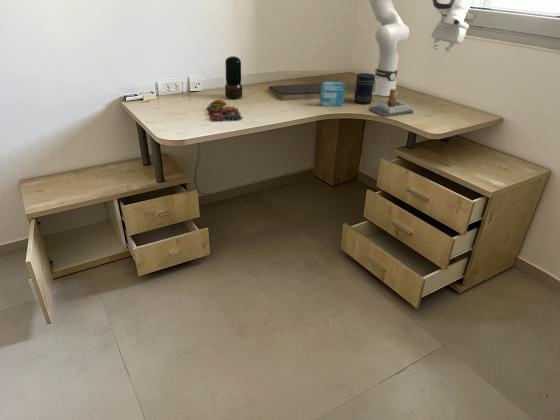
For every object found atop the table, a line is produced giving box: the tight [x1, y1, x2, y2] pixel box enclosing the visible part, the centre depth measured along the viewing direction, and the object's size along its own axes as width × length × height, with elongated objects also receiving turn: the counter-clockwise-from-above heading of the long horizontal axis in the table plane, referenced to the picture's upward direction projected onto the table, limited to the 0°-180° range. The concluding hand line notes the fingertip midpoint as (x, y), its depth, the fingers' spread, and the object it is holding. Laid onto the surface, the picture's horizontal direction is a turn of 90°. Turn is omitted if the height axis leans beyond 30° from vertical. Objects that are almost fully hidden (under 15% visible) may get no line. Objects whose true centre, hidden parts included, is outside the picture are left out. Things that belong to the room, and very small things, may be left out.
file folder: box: [268, 82, 322, 101], centre depth 252 cm, size 33×4×24 cm
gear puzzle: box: [206, 99, 244, 123], centre depth 216 cm, size 31×16×4 cm, turn 14°
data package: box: [319, 81, 346, 107], centre depth 231 cm, size 12×4×12 cm, turn 98°
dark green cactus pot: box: [224, 55, 243, 100], centre depth 234 cm, size 10×10×22 cm
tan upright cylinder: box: [386, 88, 399, 107], centre depth 224 cm, size 7×7×10 cm
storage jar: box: [353, 72, 375, 106], centre depth 237 cm, size 10×10×15 cm
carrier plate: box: [368, 99, 414, 118], centre depth 226 cm, size 13×19×4 cm
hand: (440, 49), depth 221 cm, fingers open, 8 cm apart
